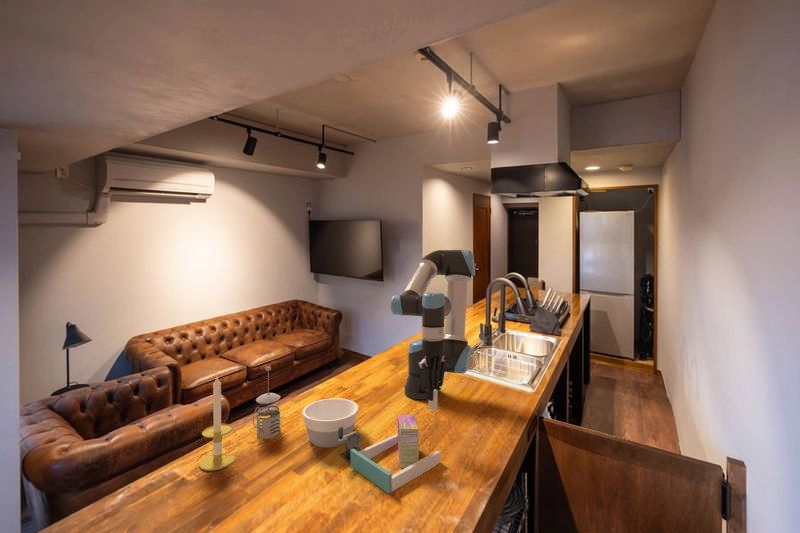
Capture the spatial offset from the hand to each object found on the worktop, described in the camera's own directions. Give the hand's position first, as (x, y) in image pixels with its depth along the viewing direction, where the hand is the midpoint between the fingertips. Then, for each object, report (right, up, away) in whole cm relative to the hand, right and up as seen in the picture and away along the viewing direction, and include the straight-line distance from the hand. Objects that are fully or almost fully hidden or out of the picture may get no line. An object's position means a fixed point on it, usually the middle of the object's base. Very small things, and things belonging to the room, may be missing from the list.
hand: (432, 408), depth 120 cm
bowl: (-35, -13, +5) cm, 38 cm away
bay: (-12, -13, -11) cm, 21 cm away
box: (-9, -13, -8) cm, 17 cm away
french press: (-58, -13, +5) cm, 59 cm away
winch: (-27, -13, -7) cm, 30 cm away
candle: (-68, -13, -9) cm, 69 cm away
